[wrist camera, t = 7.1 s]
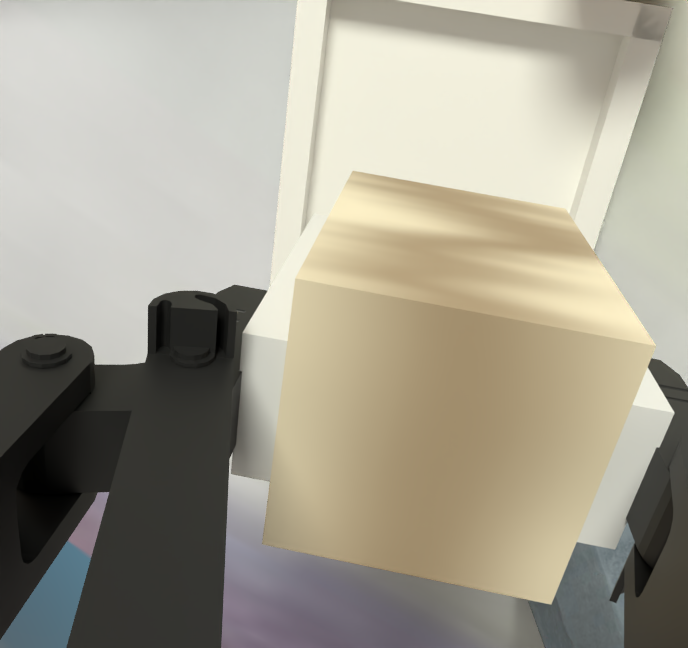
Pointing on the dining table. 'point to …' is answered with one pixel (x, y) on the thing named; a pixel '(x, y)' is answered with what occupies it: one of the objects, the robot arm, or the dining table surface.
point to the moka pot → (586, 599)
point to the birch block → (450, 388)
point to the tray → (464, 101)
